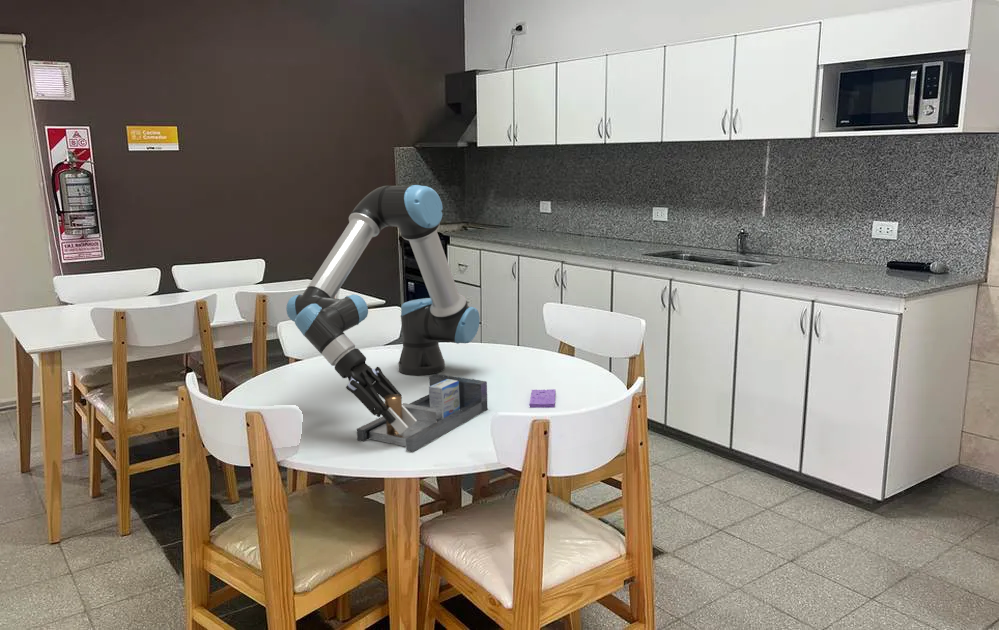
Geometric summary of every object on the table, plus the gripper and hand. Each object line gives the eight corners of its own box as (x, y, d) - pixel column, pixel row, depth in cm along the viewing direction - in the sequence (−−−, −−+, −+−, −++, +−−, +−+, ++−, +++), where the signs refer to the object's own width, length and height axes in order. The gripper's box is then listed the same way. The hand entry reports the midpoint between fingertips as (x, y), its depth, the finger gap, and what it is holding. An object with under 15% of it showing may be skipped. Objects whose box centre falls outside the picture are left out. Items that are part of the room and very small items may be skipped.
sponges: (555, 395, 219) (555, 389, 218) (554, 409, 206) (554, 403, 206) (531, 395, 219) (531, 389, 219) (529, 409, 207) (529, 403, 207)
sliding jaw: (369, 438, 186) (367, 396, 184) (404, 421, 198) (402, 380, 196) (408, 447, 180) (406, 403, 178) (442, 428, 192) (440, 386, 190)
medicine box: (443, 419, 199) (442, 388, 198) (429, 417, 202) (428, 385, 200) (460, 411, 206) (459, 380, 204) (447, 408, 208) (445, 378, 206)
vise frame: (357, 440, 186) (355, 409, 184) (436, 401, 215) (435, 373, 213) (413, 452, 178) (411, 419, 176) (487, 409, 206) (486, 381, 205)
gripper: (354, 358, 195) (415, 425, 193) (316, 376, 179) (382, 449, 177) (371, 339, 192) (433, 407, 190) (334, 356, 176) (401, 430, 174)
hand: (408, 427), depth 183 cm, fingers closed on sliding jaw, 4 cm apart
